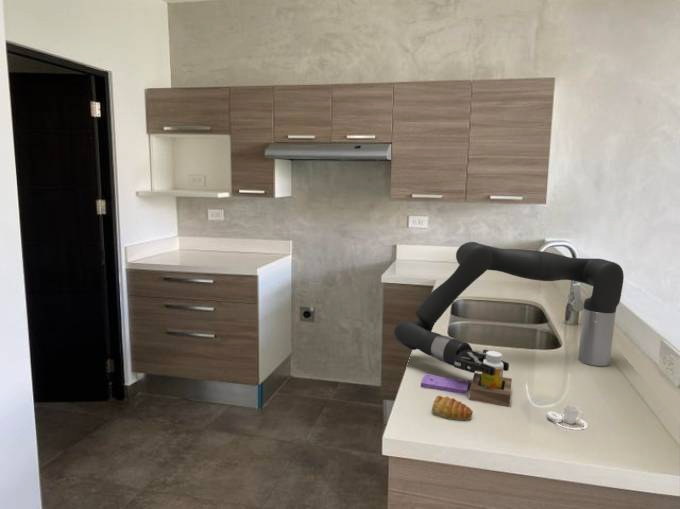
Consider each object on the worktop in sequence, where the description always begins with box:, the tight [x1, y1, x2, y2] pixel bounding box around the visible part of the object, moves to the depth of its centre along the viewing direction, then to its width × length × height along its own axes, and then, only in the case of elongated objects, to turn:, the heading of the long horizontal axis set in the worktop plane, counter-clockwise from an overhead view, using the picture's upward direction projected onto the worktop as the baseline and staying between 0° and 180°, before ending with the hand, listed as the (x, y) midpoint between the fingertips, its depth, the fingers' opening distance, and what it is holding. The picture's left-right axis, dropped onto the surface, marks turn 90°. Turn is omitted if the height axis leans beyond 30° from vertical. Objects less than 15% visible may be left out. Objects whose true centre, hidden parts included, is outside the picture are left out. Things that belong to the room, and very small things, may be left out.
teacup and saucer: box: [546, 404, 589, 431], centre depth 123 cm, size 9×8×4 cm
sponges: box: [420, 373, 470, 395], centre depth 142 cm, size 7×13×2 cm, turn 71°
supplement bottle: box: [481, 350, 504, 389], centre depth 137 cm, size 5×5×10 cm
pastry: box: [431, 395, 474, 421], centre depth 125 cm, size 9×7×4 cm
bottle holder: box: [469, 372, 513, 407], centre depth 138 cm, size 12×10×3 cm
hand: (501, 369), depth 135 cm, fingers closed on supplement bottle, 5 cm apart
